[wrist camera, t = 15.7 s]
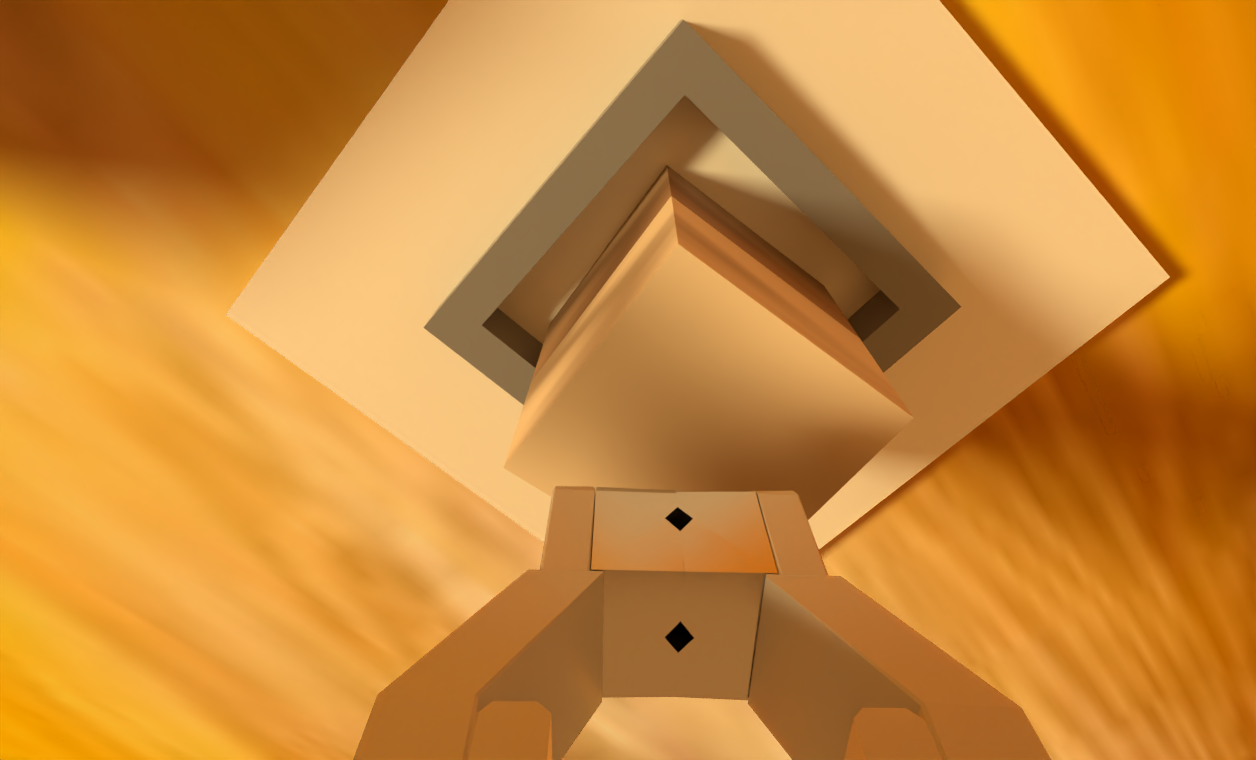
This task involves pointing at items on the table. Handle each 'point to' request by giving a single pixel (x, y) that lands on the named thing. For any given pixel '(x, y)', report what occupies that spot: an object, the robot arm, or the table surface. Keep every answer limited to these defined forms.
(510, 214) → the base plate
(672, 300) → the tan rectangular block
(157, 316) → the table surface
